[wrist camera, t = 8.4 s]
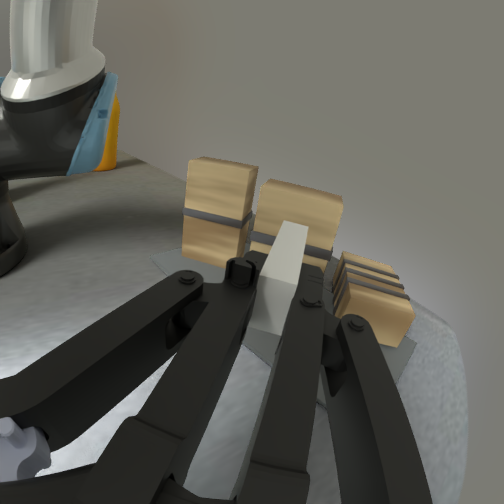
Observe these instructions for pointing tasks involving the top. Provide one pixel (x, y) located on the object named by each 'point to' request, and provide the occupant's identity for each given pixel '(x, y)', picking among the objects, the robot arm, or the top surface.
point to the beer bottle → (111, 140)
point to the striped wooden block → (372, 297)
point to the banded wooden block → (217, 209)
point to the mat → (268, 342)
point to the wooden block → (297, 218)
